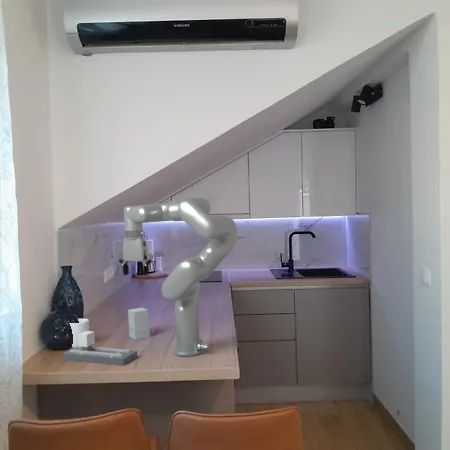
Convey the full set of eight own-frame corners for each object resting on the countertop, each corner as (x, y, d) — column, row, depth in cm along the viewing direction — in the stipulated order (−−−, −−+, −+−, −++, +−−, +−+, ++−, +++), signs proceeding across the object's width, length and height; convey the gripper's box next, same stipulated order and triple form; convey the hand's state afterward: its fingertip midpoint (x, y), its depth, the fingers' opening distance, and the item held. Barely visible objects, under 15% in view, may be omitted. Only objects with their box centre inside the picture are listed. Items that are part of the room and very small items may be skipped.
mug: (64, 343, 210) (62, 319, 210) (91, 341, 212) (90, 317, 211) (59, 349, 202) (57, 324, 201) (88, 347, 203) (86, 322, 202)
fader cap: (95, 348, 192) (94, 331, 191) (87, 352, 187) (86, 335, 187) (86, 347, 193) (85, 330, 193) (79, 351, 188) (78, 334, 188)
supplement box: (150, 337, 215) (149, 309, 214) (134, 340, 211) (133, 312, 210) (144, 333, 221) (142, 307, 221) (128, 336, 217) (127, 309, 217)
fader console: (137, 357, 188) (137, 348, 188) (123, 365, 178) (123, 357, 178) (78, 351, 198) (78, 343, 198) (62, 359, 188) (62, 351, 188)
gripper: (156, 233, 203) (158, 273, 203) (121, 234, 209) (123, 273, 210) (147, 235, 196) (149, 276, 196) (111, 235, 202) (113, 275, 202)
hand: (136, 274), depth 203 cm, fingers open, 9 cm apart
